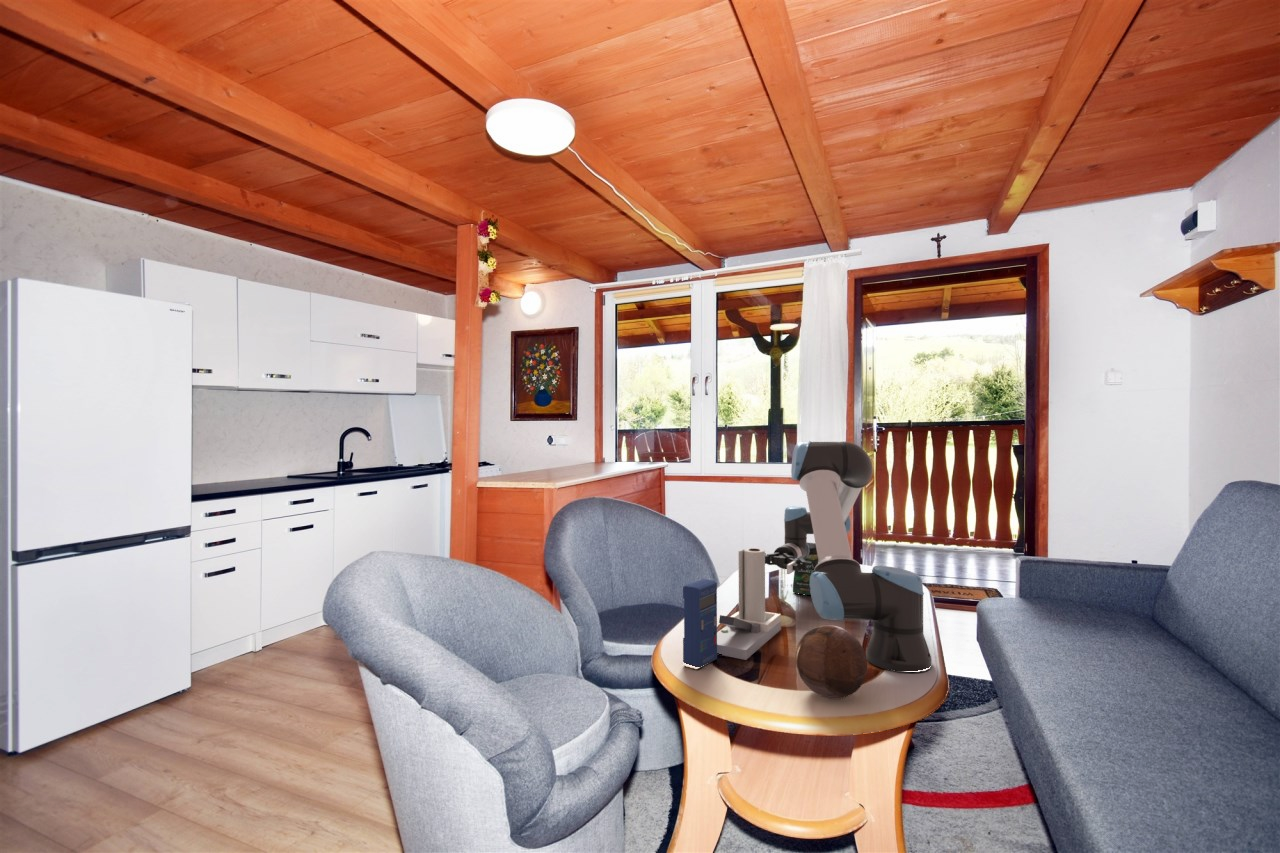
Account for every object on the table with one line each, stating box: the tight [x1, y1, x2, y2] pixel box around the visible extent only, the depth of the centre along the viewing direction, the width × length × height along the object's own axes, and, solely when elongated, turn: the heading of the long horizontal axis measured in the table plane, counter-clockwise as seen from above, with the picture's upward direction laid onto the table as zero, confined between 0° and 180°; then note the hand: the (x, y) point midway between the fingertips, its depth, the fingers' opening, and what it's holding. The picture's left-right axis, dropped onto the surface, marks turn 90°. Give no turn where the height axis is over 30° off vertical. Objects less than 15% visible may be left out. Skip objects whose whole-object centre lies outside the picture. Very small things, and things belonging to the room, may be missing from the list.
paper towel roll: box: [738, 547, 766, 623], centre depth 175 cm, size 7×6×21 cm
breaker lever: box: [718, 614, 752, 631], centre depth 163 cm, size 2×5×15 cm
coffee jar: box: [792, 542, 819, 596], centre depth 217 cm, size 10×8×19 cm
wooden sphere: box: [795, 624, 868, 700], centre depth 131 cm, size 15×15×15 cm
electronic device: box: [682, 578, 718, 667], centre depth 150 cm, size 10×5×20 cm, turn 143°
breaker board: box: [717, 610, 782, 661], centre depth 167 cm, size 28×12×4 cm, turn 149°
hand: (766, 567), depth 183 cm, fingers open, 13 cm apart
